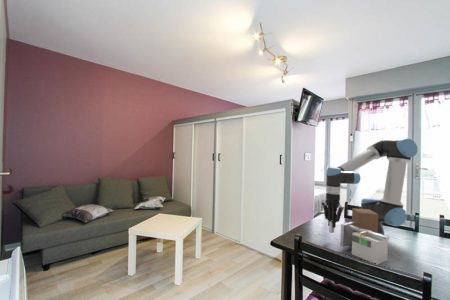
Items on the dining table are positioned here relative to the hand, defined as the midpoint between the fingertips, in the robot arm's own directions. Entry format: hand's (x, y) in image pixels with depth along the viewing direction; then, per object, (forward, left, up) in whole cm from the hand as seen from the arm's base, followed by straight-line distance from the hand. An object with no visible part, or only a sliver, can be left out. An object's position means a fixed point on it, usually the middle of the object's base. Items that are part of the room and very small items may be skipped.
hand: (331, 232), depth 126 cm
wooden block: (-13, +12, -6) cm, 18 cm away
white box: (0, +21, -5) cm, 21 cm away
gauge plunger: (0, +19, -3) cm, 19 cm away
